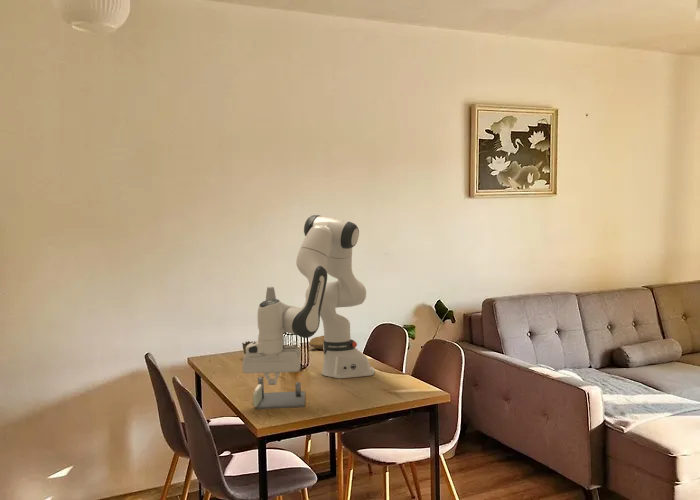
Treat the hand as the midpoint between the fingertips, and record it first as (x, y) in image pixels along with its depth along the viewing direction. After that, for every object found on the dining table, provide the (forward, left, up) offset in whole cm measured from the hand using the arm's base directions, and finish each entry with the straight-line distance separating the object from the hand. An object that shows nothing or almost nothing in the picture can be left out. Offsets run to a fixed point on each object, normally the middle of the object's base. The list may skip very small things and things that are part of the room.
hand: (272, 384), depth 220 cm
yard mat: (-3, -6, -8) cm, 10 cm away
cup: (+15, -76, -8) cm, 78 cm away
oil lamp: (-20, -92, -8) cm, 94 cm away
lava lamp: (+4, -67, -8) cm, 67 cm away
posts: (-3, -9, -8) cm, 12 cm away
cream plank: (+5, -2, -7) cm, 9 cm away
